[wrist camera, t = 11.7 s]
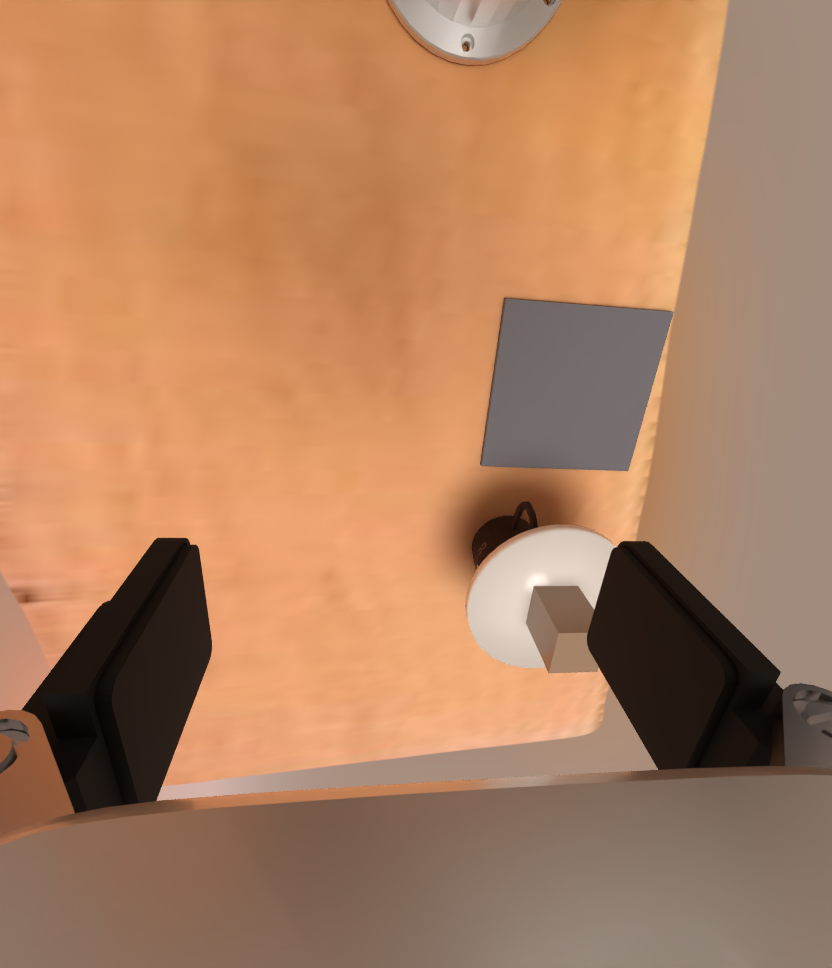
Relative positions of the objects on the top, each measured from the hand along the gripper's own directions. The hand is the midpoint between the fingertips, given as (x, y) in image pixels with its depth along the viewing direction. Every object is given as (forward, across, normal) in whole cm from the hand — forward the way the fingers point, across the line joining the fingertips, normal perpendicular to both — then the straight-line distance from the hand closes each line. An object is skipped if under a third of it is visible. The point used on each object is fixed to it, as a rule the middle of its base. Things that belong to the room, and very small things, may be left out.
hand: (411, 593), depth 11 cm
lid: (+20, -14, +16) cm, 29 cm away
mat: (+30, -17, +2) cm, 35 cm away
